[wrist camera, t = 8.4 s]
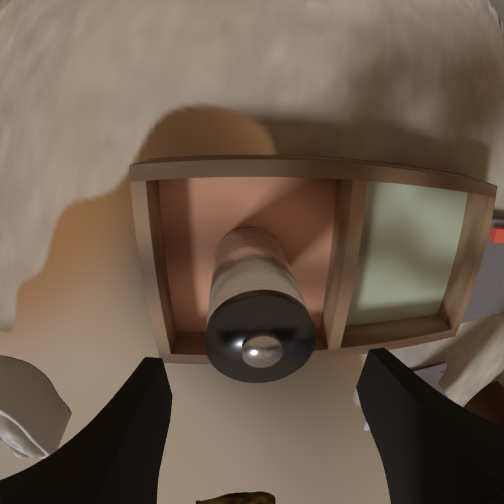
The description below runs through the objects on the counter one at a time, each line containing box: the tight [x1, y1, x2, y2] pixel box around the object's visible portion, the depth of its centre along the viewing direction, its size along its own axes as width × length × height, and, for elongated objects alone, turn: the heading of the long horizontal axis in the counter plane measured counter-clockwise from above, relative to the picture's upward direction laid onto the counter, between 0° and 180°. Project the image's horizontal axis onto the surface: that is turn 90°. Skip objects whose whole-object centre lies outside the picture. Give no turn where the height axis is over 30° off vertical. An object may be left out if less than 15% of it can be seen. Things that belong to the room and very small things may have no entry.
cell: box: [205, 226, 317, 383], centre depth 13 cm, size 4×4×8 cm
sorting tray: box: [129, 155, 497, 364], centre depth 17 cm, size 12×22×4 cm, turn 90°
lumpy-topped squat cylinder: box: [0, 355, 72, 459], centre depth 20 cm, size 10×13×9 cm
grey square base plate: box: [461, 217, 504, 323], centre depth 19 cm, size 10×10×2 cm
